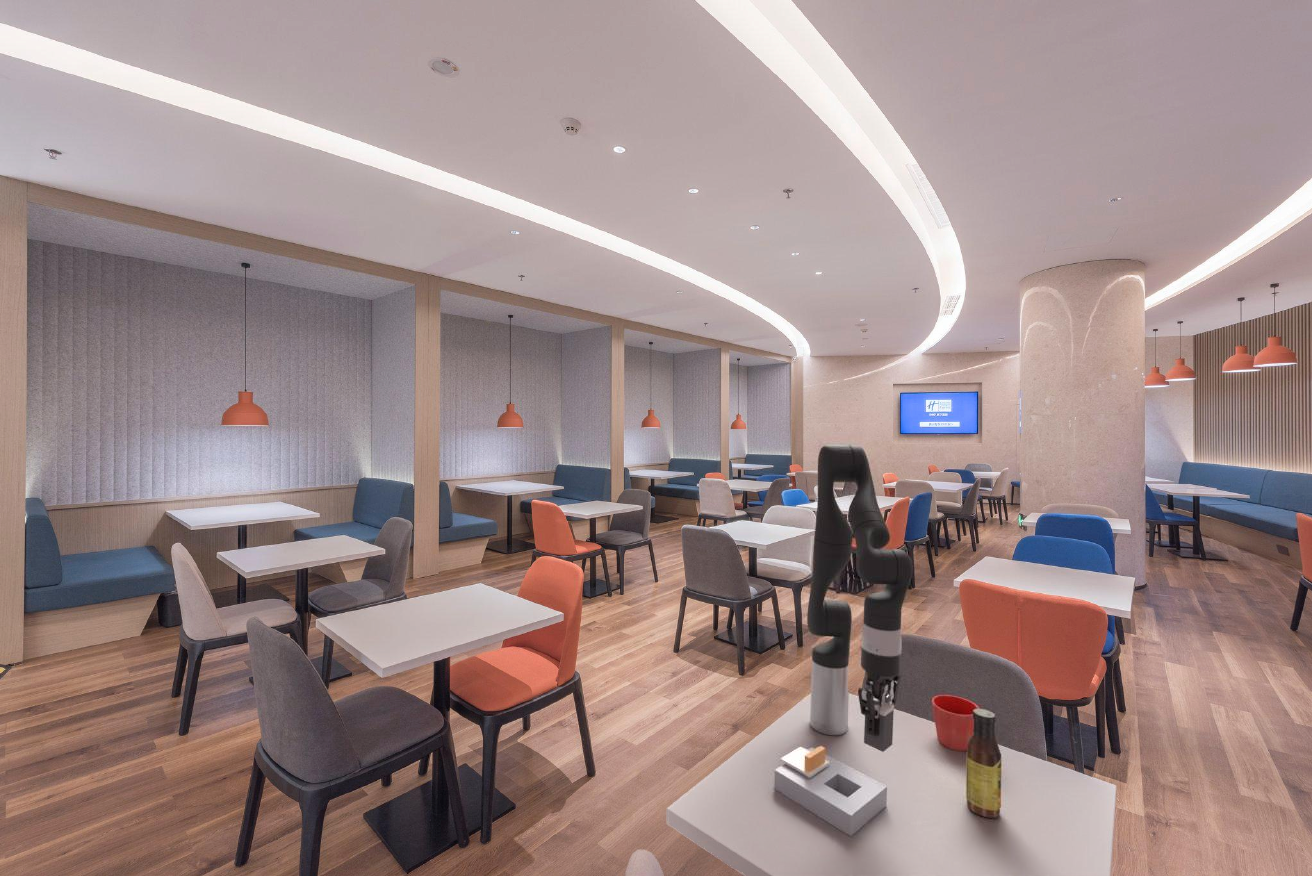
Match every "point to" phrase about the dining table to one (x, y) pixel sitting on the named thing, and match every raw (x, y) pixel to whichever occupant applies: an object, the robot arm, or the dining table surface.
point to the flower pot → (953, 720)
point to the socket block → (834, 794)
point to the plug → (881, 729)
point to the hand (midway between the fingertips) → (878, 730)
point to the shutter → (806, 760)
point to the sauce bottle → (983, 766)
